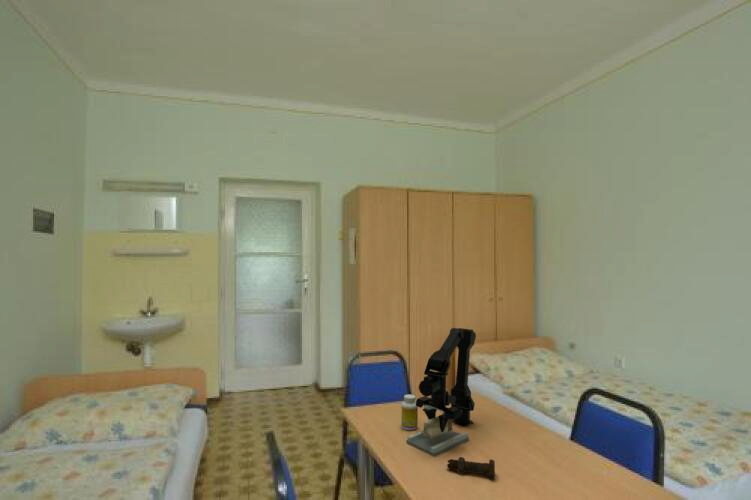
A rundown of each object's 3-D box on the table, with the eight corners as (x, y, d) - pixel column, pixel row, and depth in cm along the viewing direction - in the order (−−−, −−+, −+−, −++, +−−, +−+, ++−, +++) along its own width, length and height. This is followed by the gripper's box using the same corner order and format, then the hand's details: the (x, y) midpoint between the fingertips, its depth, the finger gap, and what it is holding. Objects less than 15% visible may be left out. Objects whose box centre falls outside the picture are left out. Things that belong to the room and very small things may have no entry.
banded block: (423, 435, 160) (423, 421, 160) (443, 426, 168) (444, 413, 168) (431, 438, 157) (431, 425, 157) (452, 429, 165) (452, 416, 165)
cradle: (440, 428, 174) (440, 422, 174) (468, 440, 164) (468, 433, 164) (406, 442, 161) (406, 436, 161) (434, 456, 151) (434, 449, 151)
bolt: (448, 473, 143) (494, 480, 138) (446, 472, 139) (494, 479, 134) (449, 454, 146) (494, 460, 141) (447, 453, 142) (494, 459, 137)
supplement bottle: (418, 431, 172) (418, 399, 172) (401, 430, 172) (402, 399, 172) (416, 424, 178) (417, 393, 178) (401, 423, 179) (401, 393, 179)
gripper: (471, 390, 161) (471, 432, 161) (433, 379, 175) (433, 417, 175) (452, 397, 153) (452, 440, 154) (415, 384, 167) (414, 424, 168)
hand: (438, 429), depth 163 cm, fingers closed on banded block, 4 cm apart
